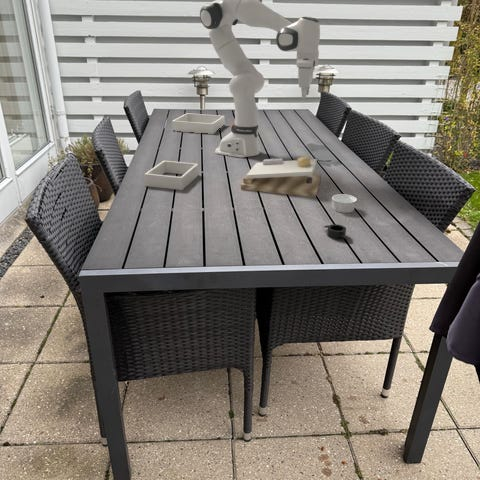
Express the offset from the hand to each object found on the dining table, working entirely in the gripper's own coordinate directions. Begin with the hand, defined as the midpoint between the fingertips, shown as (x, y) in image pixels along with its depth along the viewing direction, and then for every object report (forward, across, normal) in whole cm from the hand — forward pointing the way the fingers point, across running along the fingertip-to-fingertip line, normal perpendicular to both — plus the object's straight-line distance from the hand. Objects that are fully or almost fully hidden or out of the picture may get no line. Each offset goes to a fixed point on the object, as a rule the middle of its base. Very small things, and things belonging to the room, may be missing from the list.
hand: (305, 96), depth 194 cm
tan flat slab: (+33, +19, -6) cm, 38 cm away
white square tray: (+31, -69, -70) cm, 103 cm away
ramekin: (+34, +40, +20) cm, 56 cm away
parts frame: (+32, +28, -51) cm, 66 cm away
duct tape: (+34, +63, +19) cm, 74 cm away
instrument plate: (+27, +19, -6) cm, 33 cm away
